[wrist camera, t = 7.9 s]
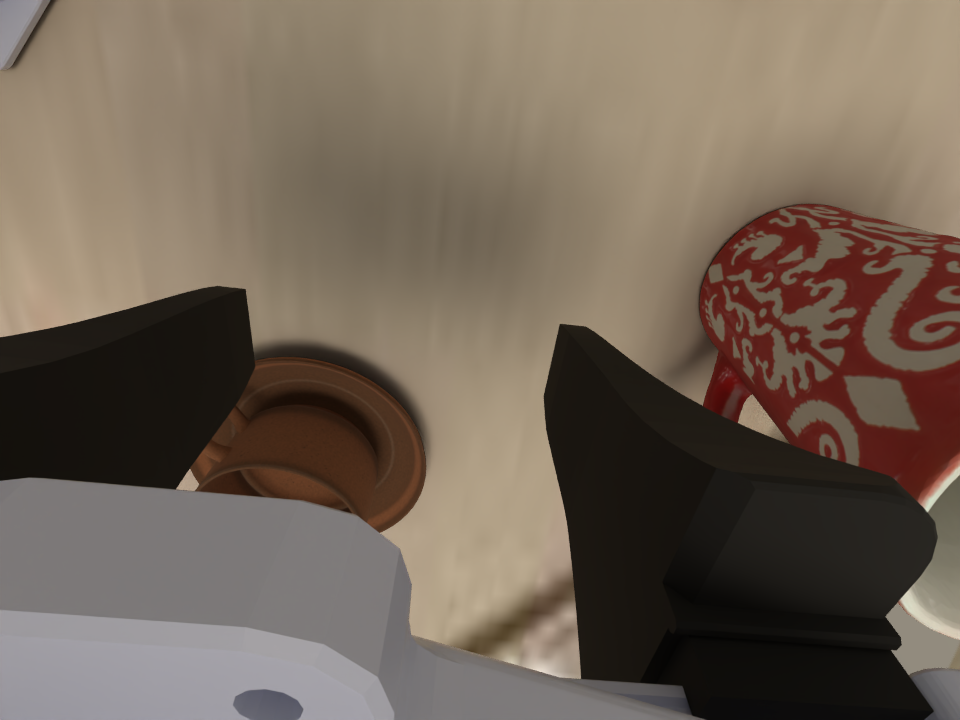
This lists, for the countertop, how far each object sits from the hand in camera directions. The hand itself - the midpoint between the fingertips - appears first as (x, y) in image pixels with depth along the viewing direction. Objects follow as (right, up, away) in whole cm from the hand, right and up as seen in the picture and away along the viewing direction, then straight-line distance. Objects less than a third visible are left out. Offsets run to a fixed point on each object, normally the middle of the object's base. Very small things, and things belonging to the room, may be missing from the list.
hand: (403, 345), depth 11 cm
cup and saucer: (-7, -5, +15) cm, 17 cm away
